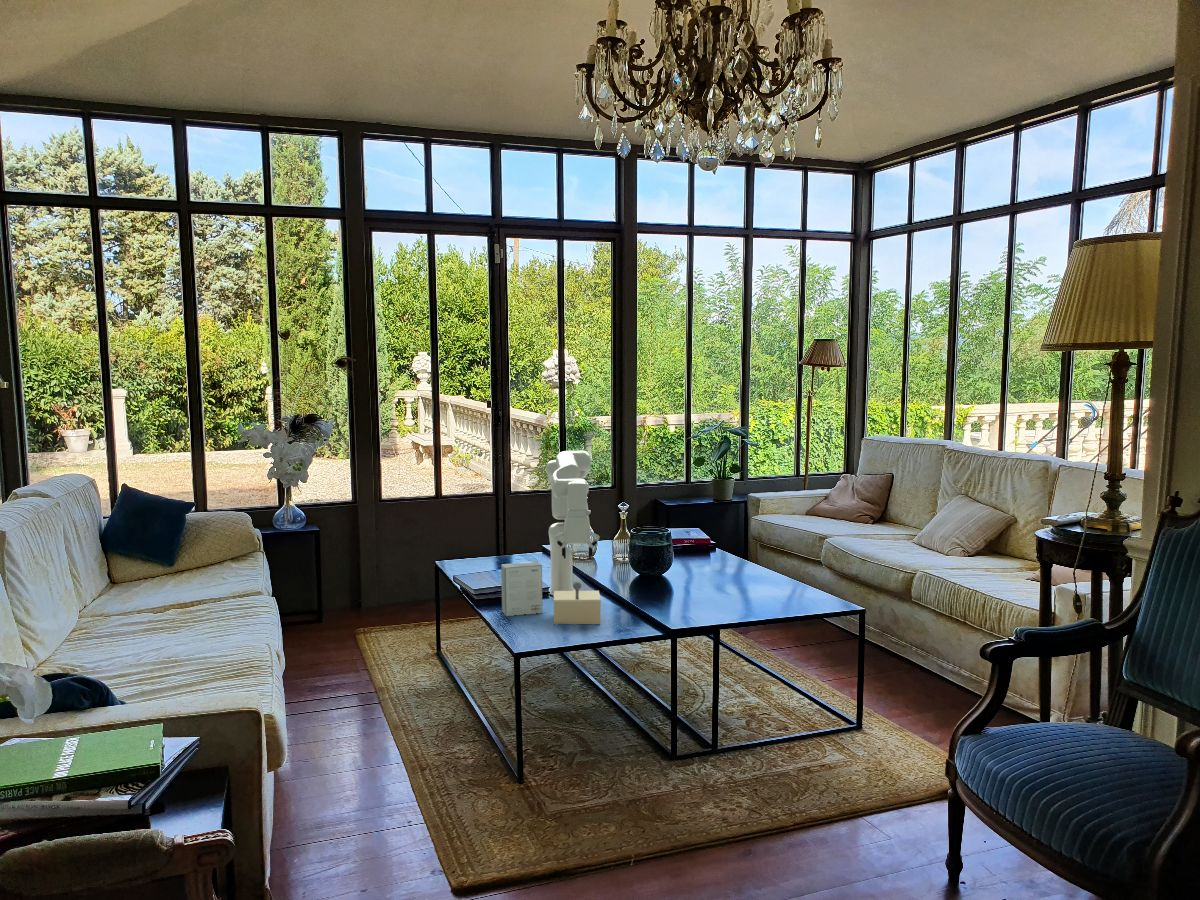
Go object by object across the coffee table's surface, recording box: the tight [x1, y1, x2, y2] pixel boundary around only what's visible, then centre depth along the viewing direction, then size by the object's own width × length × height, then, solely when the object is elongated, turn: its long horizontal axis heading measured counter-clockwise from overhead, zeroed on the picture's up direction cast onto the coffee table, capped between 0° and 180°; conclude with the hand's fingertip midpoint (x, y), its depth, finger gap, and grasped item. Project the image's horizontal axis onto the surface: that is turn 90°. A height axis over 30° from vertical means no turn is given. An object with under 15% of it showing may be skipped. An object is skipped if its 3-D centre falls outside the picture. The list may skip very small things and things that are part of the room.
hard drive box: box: [500, 561, 544, 617], centre depth 342 cm, size 16×8×20 cm, turn 108°
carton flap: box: [553, 581, 602, 603], centre depth 332 cm, size 14×18×8 cm
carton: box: [553, 601, 602, 625], centre depth 333 cm, size 14×18×9 cm
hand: (577, 557), depth 325 cm, fingers open, 9 cm apart
